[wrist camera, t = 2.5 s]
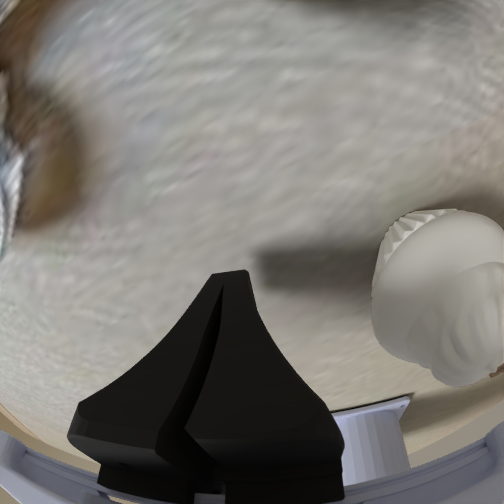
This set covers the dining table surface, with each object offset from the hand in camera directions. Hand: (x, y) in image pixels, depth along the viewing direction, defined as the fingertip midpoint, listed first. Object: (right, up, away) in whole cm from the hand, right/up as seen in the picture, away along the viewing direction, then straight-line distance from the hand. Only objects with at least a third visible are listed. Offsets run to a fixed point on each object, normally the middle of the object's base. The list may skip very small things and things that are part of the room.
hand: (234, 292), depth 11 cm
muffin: (+8, +2, +1) cm, 8 cm away
